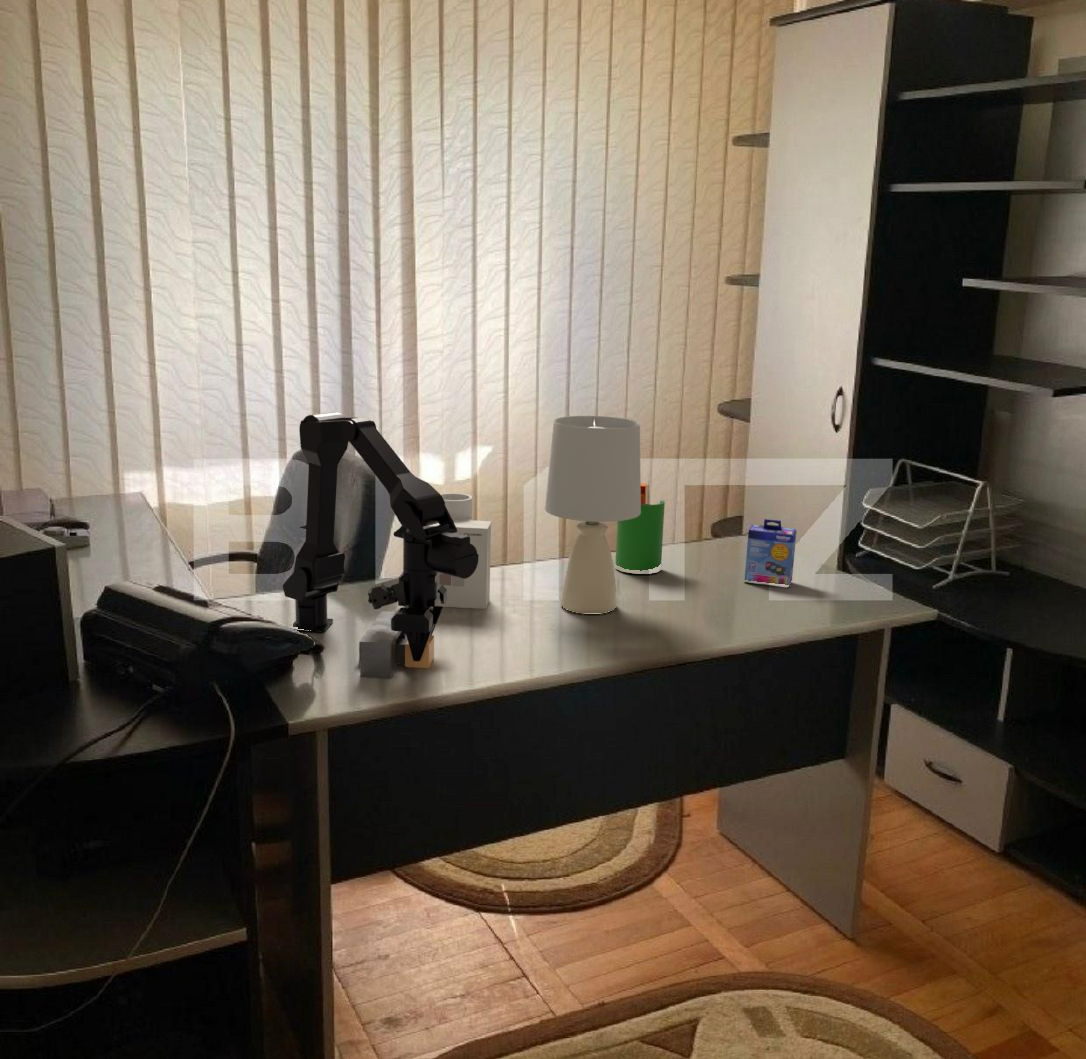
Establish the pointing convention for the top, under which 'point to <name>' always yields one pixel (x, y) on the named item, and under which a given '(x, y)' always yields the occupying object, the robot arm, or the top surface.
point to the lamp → (593, 500)
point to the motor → (641, 537)
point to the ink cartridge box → (770, 553)
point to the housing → (379, 648)
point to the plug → (406, 656)
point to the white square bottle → (478, 584)
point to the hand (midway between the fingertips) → (419, 655)
